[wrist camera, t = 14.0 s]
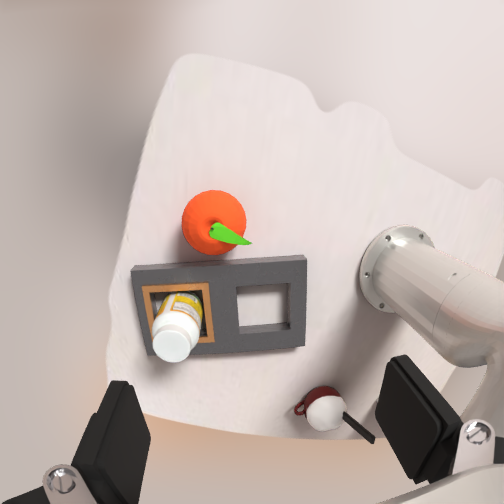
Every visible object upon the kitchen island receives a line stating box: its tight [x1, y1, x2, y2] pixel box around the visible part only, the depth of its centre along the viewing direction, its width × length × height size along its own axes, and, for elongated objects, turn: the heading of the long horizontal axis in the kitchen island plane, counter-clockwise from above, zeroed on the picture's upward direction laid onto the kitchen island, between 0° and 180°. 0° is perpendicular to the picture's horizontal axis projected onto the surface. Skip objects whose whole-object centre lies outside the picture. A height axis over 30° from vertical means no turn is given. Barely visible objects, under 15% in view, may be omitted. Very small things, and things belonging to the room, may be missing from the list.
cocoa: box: [294, 386, 375, 444], centre depth 40 cm, size 10×6×12 cm, turn 74°
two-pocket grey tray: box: [131, 255, 307, 355], centre depth 38 cm, size 21×12×2 cm, turn 93°
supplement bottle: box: [152, 291, 203, 363], centre depth 35 cm, size 5×5×10 cm
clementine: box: [182, 190, 251, 255], centre depth 33 cm, size 8×7×7 cm
